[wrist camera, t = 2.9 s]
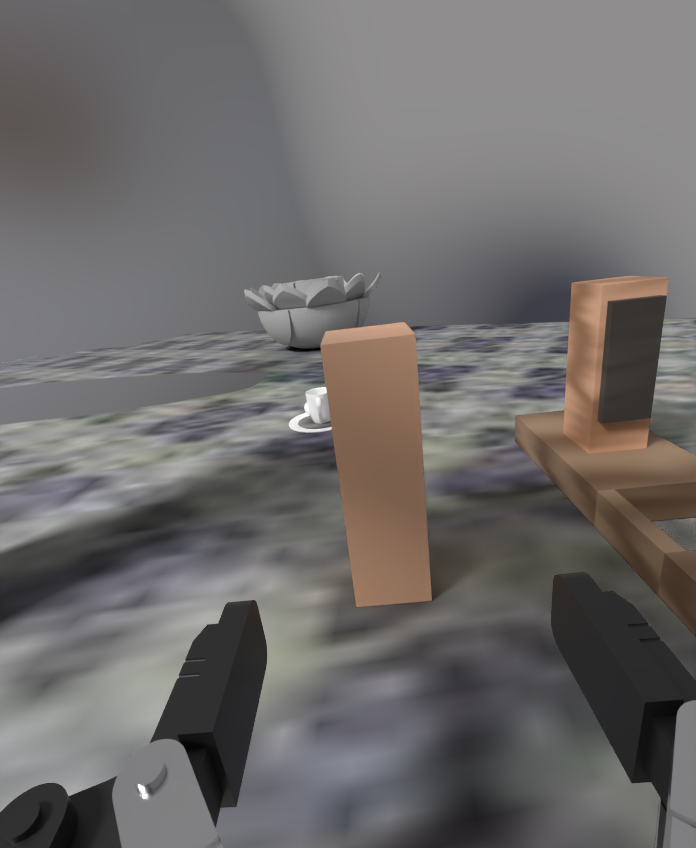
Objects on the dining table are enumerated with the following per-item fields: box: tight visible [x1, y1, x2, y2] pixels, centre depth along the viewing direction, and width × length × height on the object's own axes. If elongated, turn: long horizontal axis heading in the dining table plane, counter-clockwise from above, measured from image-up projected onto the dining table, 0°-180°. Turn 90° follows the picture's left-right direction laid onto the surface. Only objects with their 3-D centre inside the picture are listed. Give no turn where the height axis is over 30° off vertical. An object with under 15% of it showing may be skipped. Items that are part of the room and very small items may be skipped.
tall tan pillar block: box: [320, 322, 432, 607], centre depth 23 cm, size 5×4×14 cm
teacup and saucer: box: [289, 387, 332, 432], centre depth 52 cm, size 9×8×4 cm
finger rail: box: [515, 276, 696, 636], centre depth 26 cm, size 24×8×14 cm, turn 179°
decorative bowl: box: [244, 272, 381, 349], centre depth 101 cm, size 30×30×15 cm
